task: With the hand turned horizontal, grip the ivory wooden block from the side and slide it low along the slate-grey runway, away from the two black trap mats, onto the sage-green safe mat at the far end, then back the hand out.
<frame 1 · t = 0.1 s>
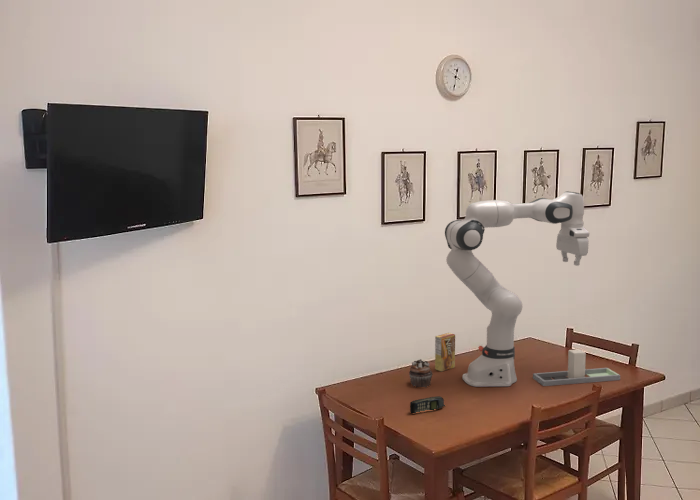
hand: (570, 263, 278), 48 cm above the table, tool pointing down, fingers open, 8 cm apart
cupcake: (420, 384, 275), on the table
candy box: (445, 369, 294), on the table
mobile phone: (428, 411, 248), on the table
ivory block: (576, 379, 278), resting on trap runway
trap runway: (576, 379, 278), on the table
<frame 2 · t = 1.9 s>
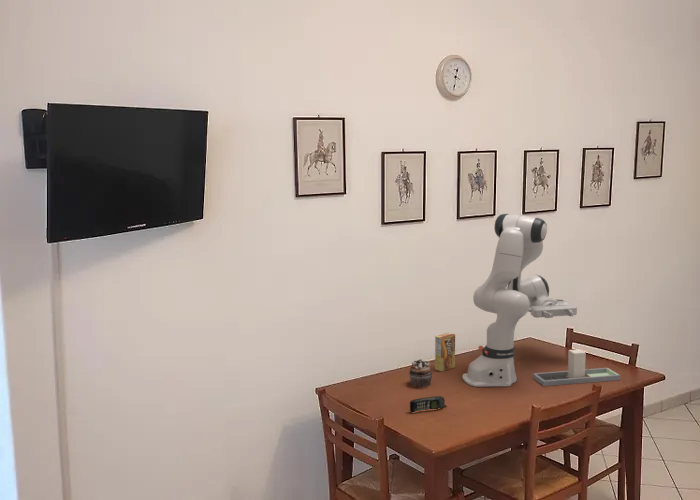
hand: (561, 315, 288), 24 cm above the table, tool horizontal, fingers open, 8 cm apart
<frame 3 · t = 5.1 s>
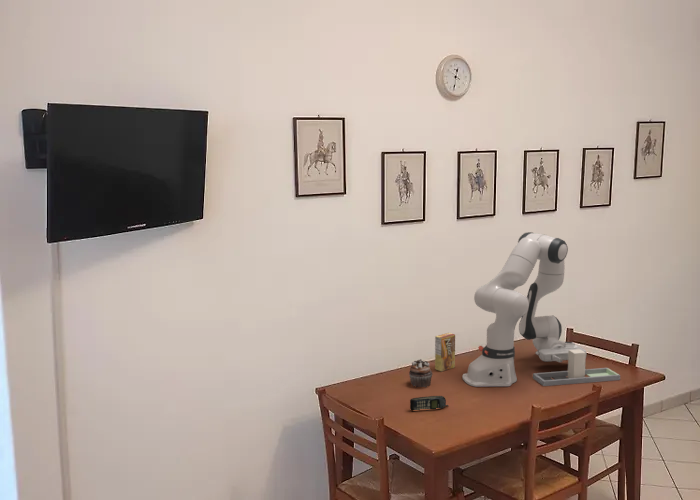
hand: (571, 359, 282), 7 cm above the table, tool horizontal, fingers open, 8 cm apart
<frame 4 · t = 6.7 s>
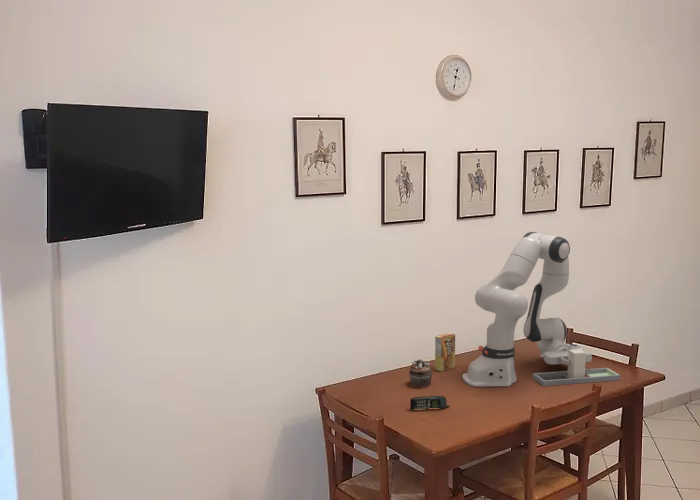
hand: (576, 362, 277), 7 cm above the table, tool horizontal, fingers closed on ivory block, 5 cm apart
ivory block: (576, 379, 278), resting on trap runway, touching gripper
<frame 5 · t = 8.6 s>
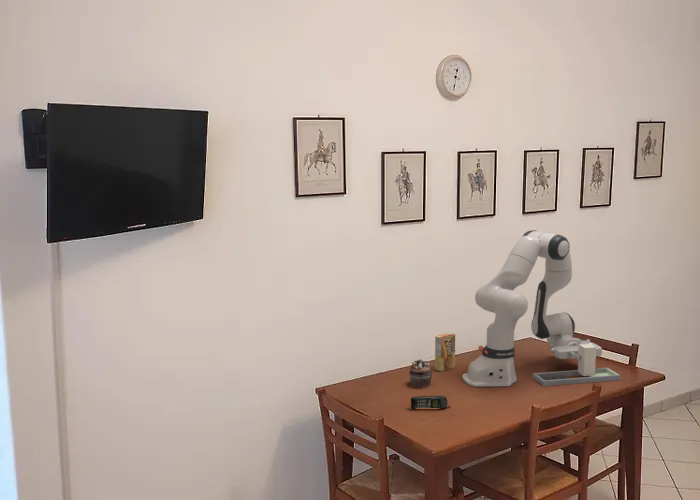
hand: (586, 357, 278), 9 cm above the table, tool horizontal, fingers closed on ivory block, 5 cm apart
ivory block: (586, 373, 279), point 2 cm above the table, touching gripper
when the fingers open (8 cm above the table, at t = 10.7 s): ivory block stays where it is, resting on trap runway.
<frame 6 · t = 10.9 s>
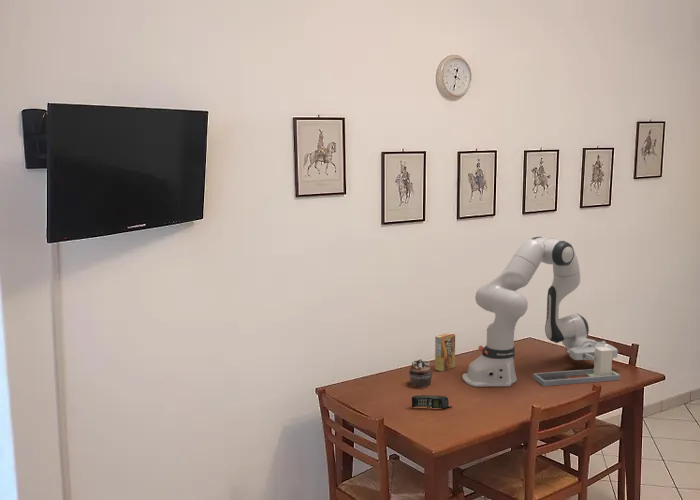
hand: (603, 358, 279), 8 cm above the table, tool horizontal, fingers open, 6 cm apart
ivory block: (602, 376, 280), resting on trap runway
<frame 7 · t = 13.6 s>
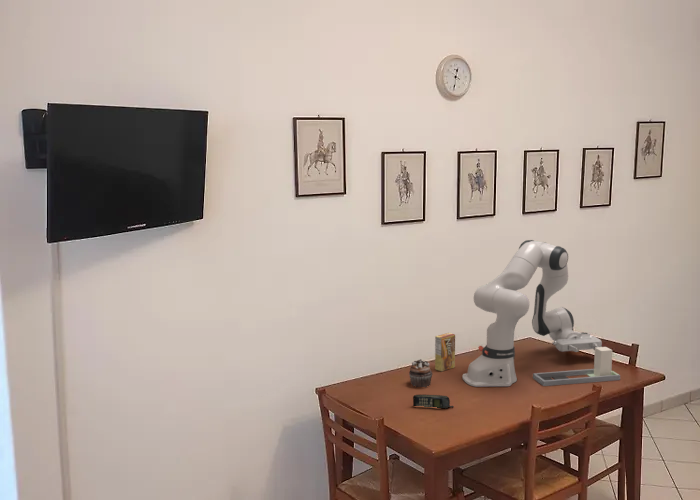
hand: (587, 349, 292), 8 cm above the table, tool horizontal, fingers open, 8 cm apart
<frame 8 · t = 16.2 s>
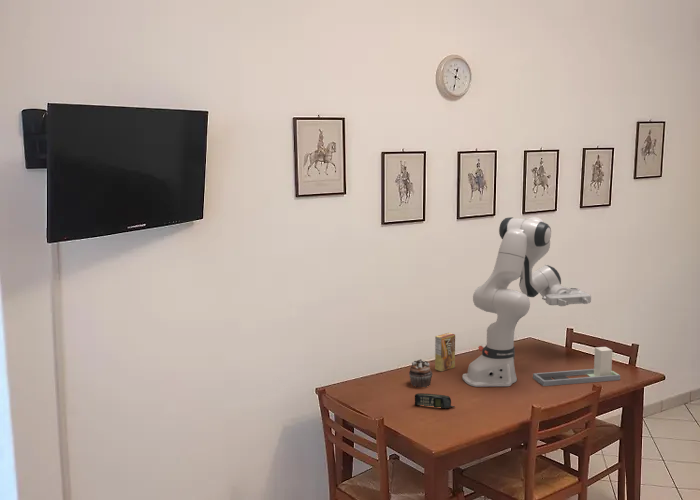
hand: (576, 302, 293), 28 cm above the table, tool horizontal, fingers open, 8 cm apart
at the end: ivory block 0.1 cm from the target spot, resting on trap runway; ivory block tilted 0°; the gripper is holding nothing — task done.
